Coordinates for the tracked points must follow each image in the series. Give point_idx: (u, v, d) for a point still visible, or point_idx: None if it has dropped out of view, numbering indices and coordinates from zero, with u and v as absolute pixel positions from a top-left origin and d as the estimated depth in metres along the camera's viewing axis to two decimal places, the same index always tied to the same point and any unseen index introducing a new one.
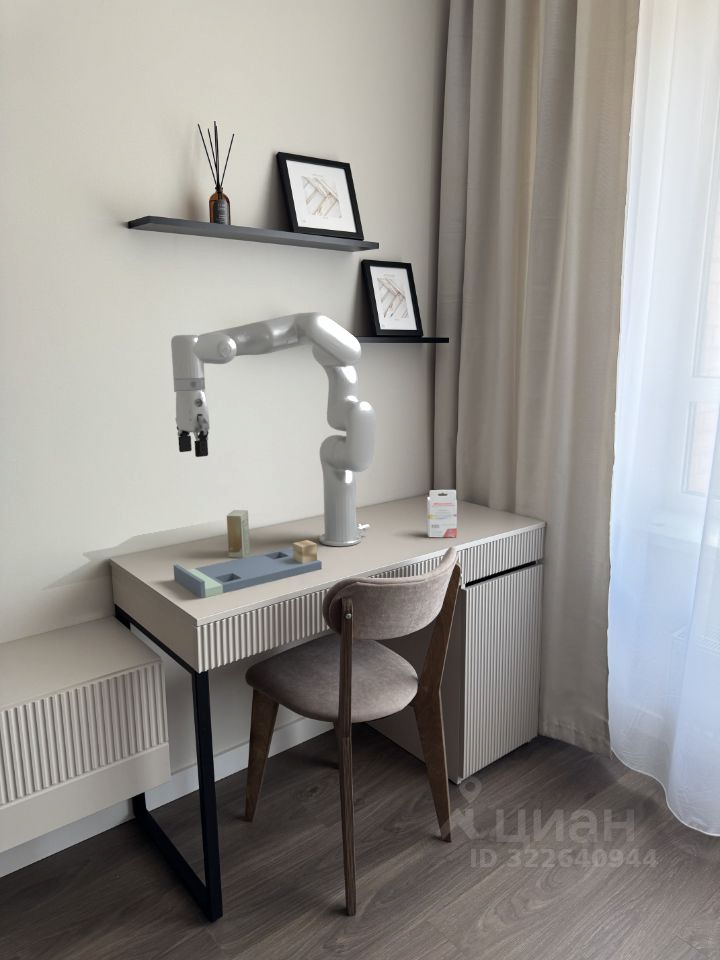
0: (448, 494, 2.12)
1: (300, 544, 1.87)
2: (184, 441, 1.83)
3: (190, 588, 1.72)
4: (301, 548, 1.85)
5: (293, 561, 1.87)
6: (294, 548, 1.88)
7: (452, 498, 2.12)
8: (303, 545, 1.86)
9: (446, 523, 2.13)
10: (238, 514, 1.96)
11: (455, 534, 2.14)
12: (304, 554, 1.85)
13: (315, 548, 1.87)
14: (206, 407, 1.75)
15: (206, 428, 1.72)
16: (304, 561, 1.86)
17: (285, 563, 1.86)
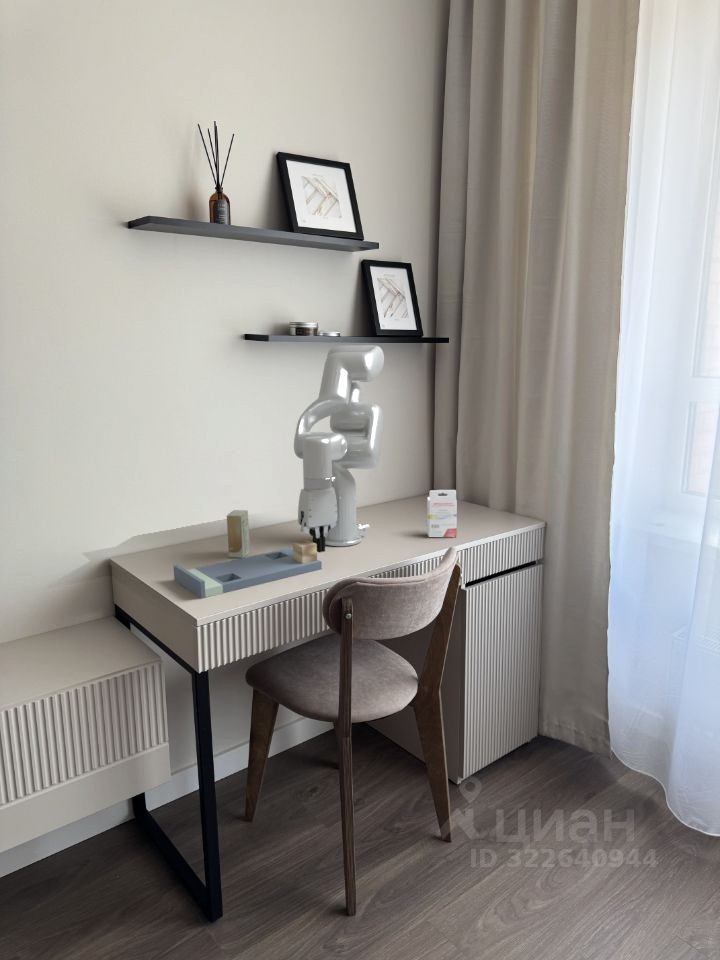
0: (448, 494, 2.12)
1: (300, 544, 1.87)
2: None
3: (190, 588, 1.72)
4: (301, 548, 1.85)
5: (293, 561, 1.87)
6: (294, 548, 1.88)
7: (452, 498, 2.12)
8: (303, 545, 1.86)
9: (446, 523, 2.13)
10: (238, 514, 1.96)
11: (455, 534, 2.14)
12: (304, 554, 1.85)
13: (315, 548, 1.87)
14: None
15: None
16: (304, 561, 1.86)
17: (285, 563, 1.86)
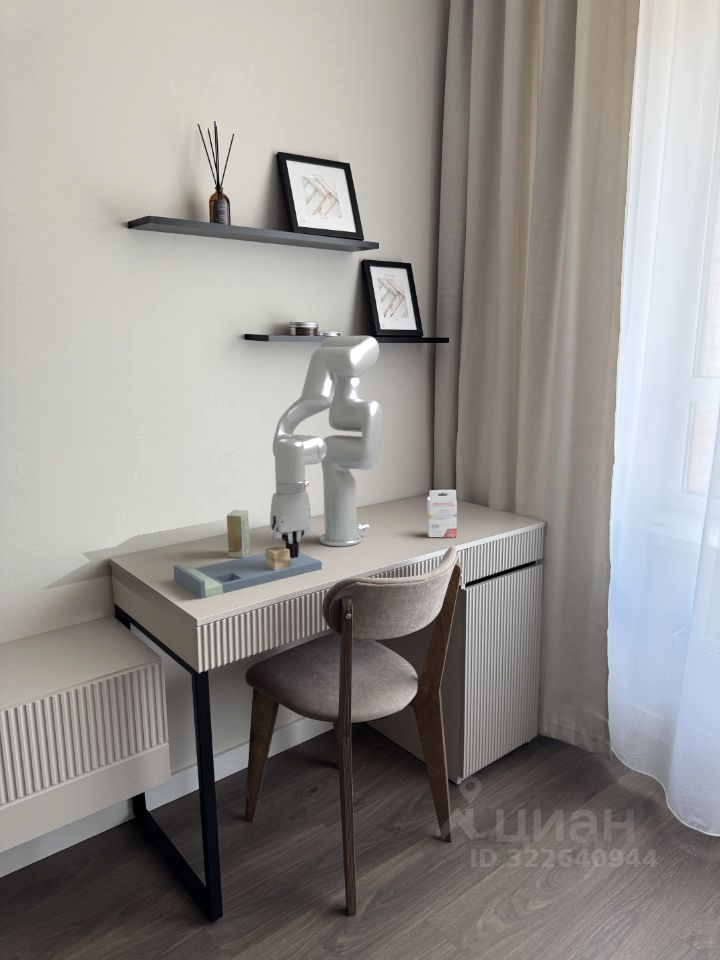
0: (448, 494, 2.12)
1: (272, 550, 1.82)
2: None
3: (190, 588, 1.72)
4: (273, 554, 1.80)
5: (293, 561, 1.87)
6: (267, 554, 1.83)
7: (452, 498, 2.12)
8: (276, 551, 1.81)
9: (446, 523, 2.13)
10: (238, 514, 1.96)
11: (455, 534, 2.14)
12: (277, 561, 1.80)
13: (288, 554, 1.82)
14: None
15: None
16: (277, 568, 1.81)
17: None
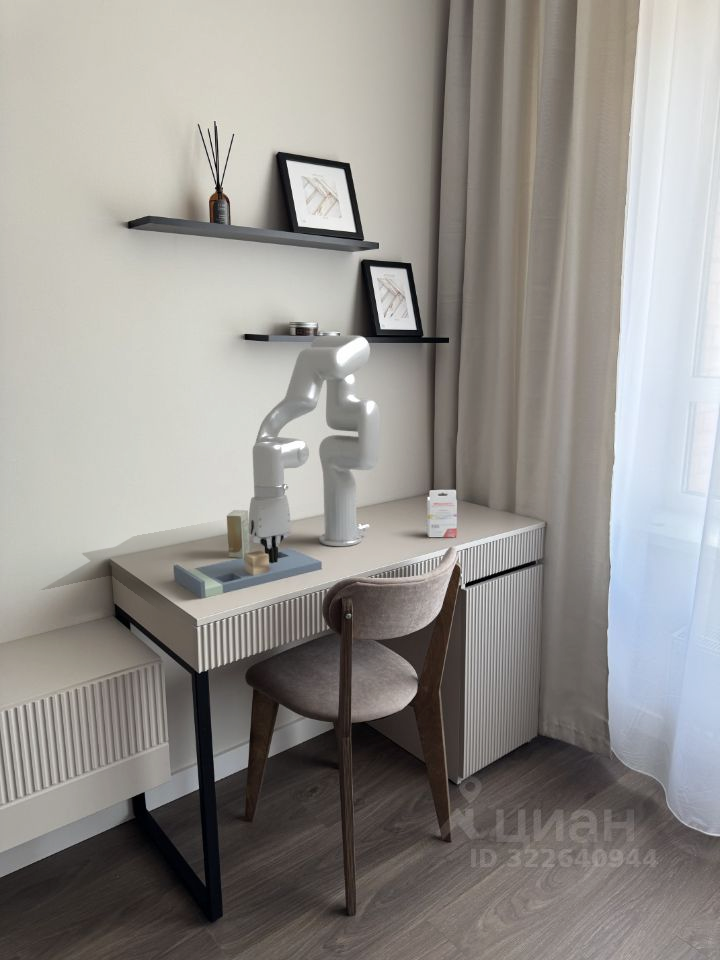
0: (448, 494, 2.12)
1: (251, 555, 1.78)
2: None
3: (190, 588, 1.72)
4: (252, 559, 1.76)
5: (293, 561, 1.87)
6: (245, 559, 1.79)
7: (452, 498, 2.12)
8: (254, 556, 1.77)
9: (446, 523, 2.13)
10: (238, 514, 1.96)
11: (455, 534, 2.14)
12: (255, 566, 1.77)
13: (267, 559, 1.79)
14: None
15: None
16: (255, 573, 1.77)
17: (285, 563, 1.86)
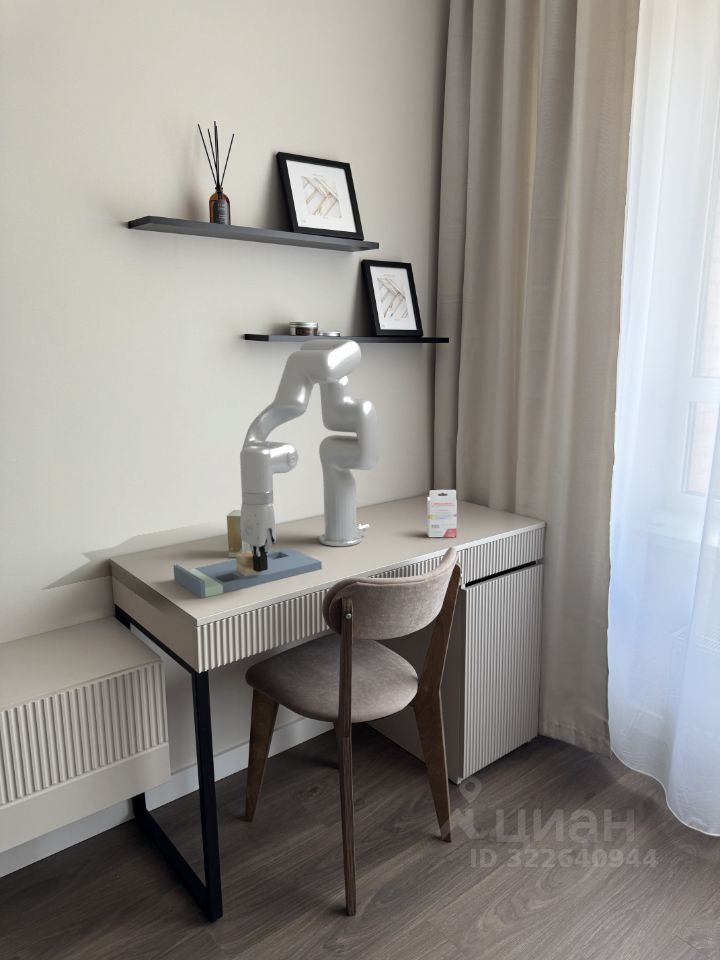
0: (448, 494, 2.12)
1: (243, 556, 1.77)
2: None
3: (190, 588, 1.72)
4: (244, 560, 1.76)
5: (293, 561, 1.87)
6: (237, 560, 1.79)
7: (452, 498, 2.12)
8: (246, 557, 1.77)
9: (446, 523, 2.13)
10: (238, 514, 1.96)
11: (455, 534, 2.14)
12: (247, 566, 1.76)
13: None
14: None
15: None
16: (247, 573, 1.77)
17: (285, 563, 1.86)
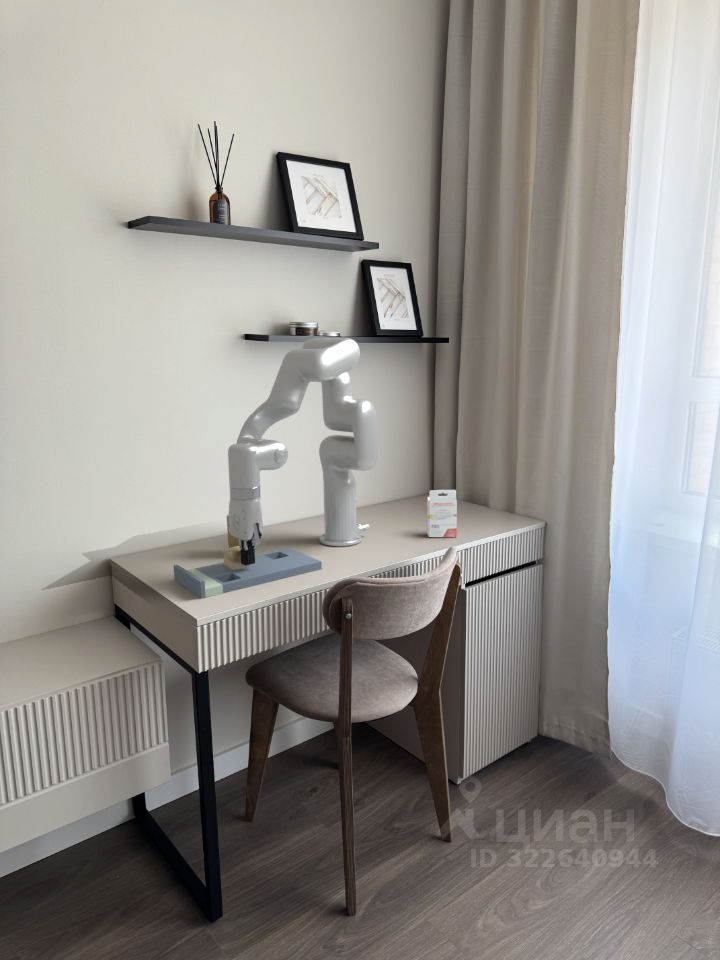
0: (448, 494, 2.12)
1: (230, 550, 1.82)
2: None
3: (190, 588, 1.72)
4: (231, 554, 1.81)
5: (293, 561, 1.87)
6: (225, 554, 1.83)
7: (452, 498, 2.12)
8: (233, 551, 1.81)
9: (446, 523, 2.13)
10: None
11: (455, 534, 2.14)
12: (234, 561, 1.81)
13: None
14: None
15: None
16: (235, 567, 1.81)
17: (285, 563, 1.86)
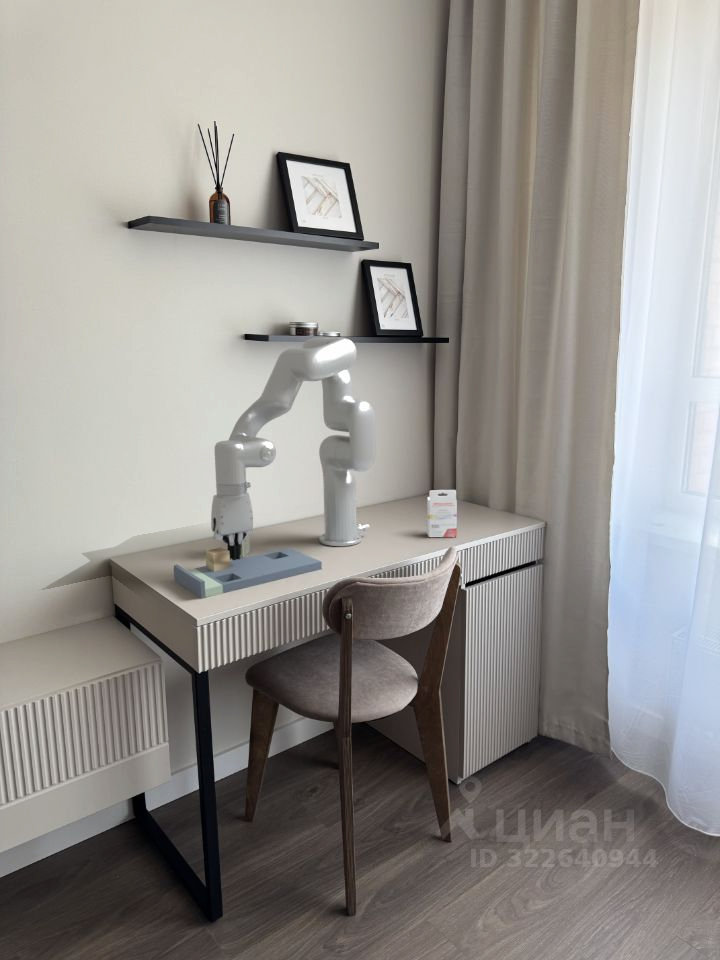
0: (448, 494, 2.12)
1: (212, 552, 1.81)
2: None
3: (190, 588, 1.72)
4: (212, 556, 1.80)
5: (293, 561, 1.87)
6: (206, 555, 1.82)
7: (452, 498, 2.12)
8: (215, 552, 1.80)
9: (446, 523, 2.13)
10: None
11: (455, 534, 2.14)
12: (216, 562, 1.80)
13: (228, 555, 1.82)
14: None
15: None
16: (216, 569, 1.80)
17: (285, 563, 1.86)
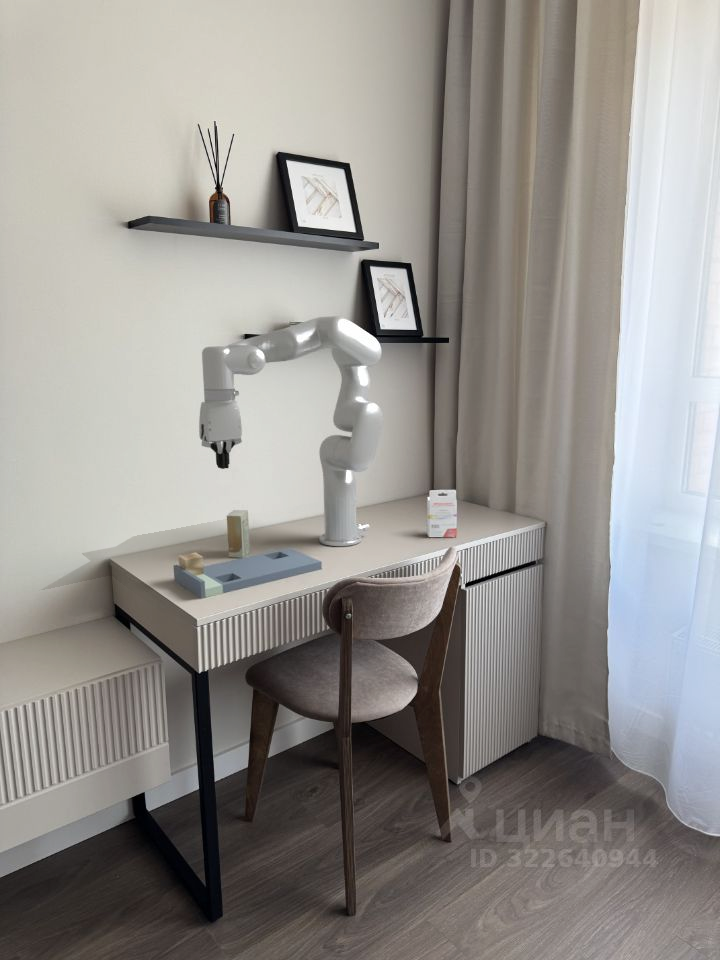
0: (448, 494, 2.12)
1: (184, 557, 1.77)
2: None
3: (190, 588, 1.72)
4: (185, 561, 1.75)
5: (293, 561, 1.87)
6: (179, 561, 1.78)
7: (452, 498, 2.12)
8: (187, 558, 1.76)
9: (446, 523, 2.13)
10: (238, 514, 1.96)
11: (455, 534, 2.14)
12: (188, 568, 1.76)
13: (201, 561, 1.77)
14: None
15: None
16: None
17: (285, 563, 1.86)
